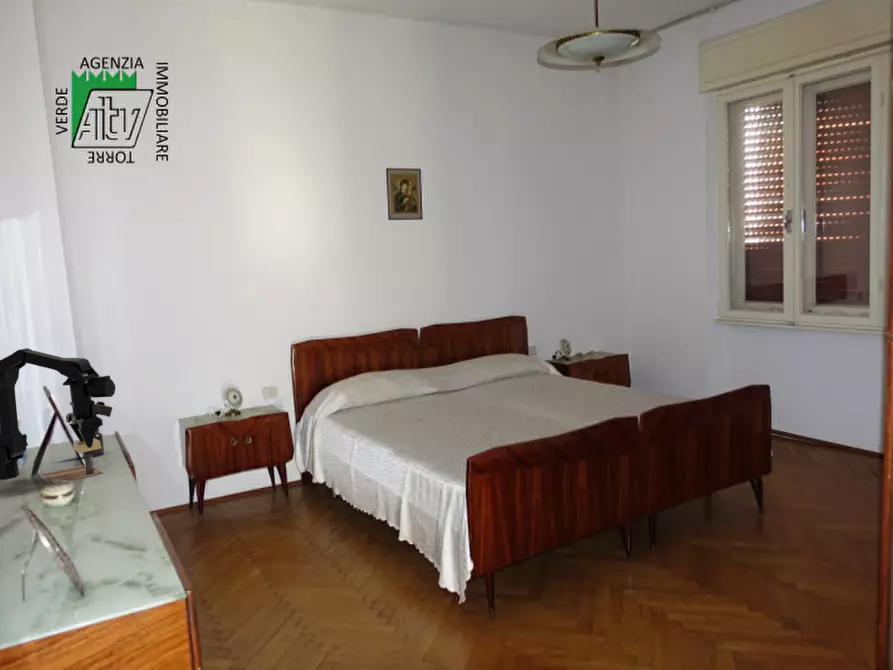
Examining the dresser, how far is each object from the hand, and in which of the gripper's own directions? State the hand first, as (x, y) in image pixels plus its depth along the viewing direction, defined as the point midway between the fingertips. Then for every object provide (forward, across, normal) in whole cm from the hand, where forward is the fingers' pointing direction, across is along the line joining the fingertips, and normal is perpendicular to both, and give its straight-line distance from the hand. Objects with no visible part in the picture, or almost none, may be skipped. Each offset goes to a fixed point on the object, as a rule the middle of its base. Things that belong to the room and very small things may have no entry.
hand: (86, 445), depth 225 cm
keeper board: (+11, +5, +4) cm, 12 cm away
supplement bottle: (+11, +25, -8) cm, 28 cm away
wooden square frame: (+1, 0, 0) cm, 1 cm away
